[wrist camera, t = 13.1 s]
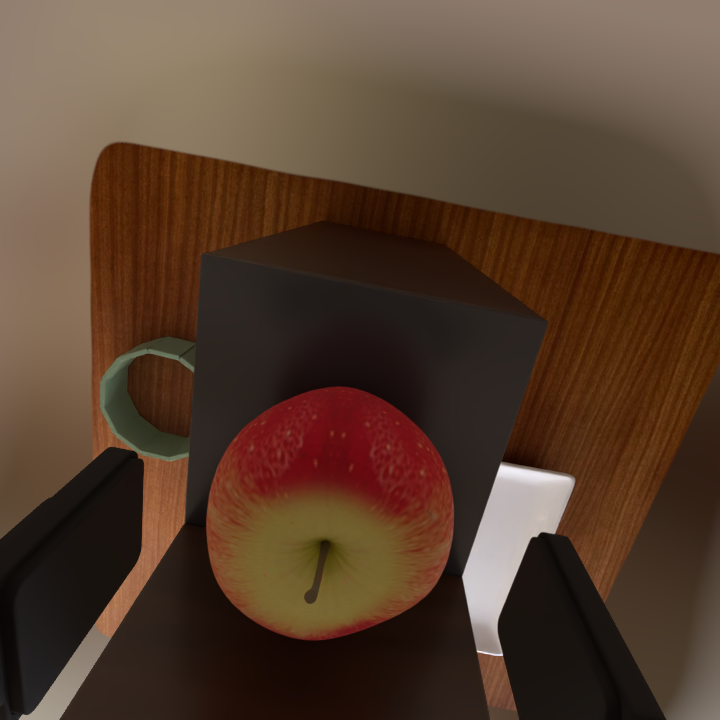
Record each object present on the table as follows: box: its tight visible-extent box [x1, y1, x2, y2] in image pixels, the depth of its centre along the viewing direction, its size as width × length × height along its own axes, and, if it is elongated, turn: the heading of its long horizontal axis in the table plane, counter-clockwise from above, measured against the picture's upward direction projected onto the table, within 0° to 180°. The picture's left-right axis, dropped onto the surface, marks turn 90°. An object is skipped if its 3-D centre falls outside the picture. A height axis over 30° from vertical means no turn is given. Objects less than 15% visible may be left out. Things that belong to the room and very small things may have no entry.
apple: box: [206, 387, 454, 640], centre depth 15 cm, size 8×8×10 cm
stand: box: [60, 221, 548, 720], centre depth 31 cm, size 14×14×44 cm
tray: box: [462, 462, 575, 656], centre depth 61 cm, size 17×31×4 cm, turn 170°
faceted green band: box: [100, 336, 196, 461], centre depth 55 cm, size 14×14×5 cm
